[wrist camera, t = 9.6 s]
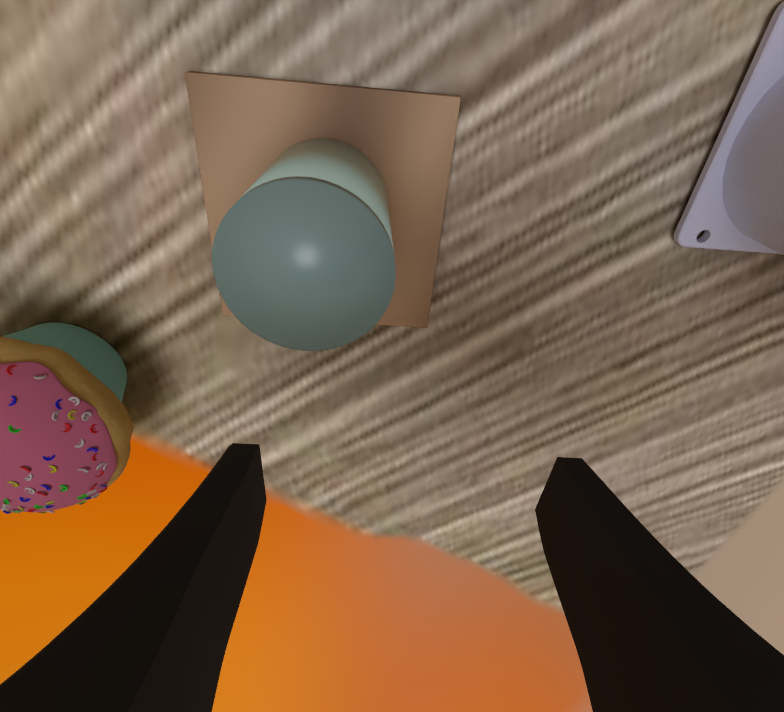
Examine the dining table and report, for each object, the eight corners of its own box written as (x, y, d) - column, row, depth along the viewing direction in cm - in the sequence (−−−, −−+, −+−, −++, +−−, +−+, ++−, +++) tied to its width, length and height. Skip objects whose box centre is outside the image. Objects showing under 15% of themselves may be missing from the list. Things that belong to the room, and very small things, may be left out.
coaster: (458, 95, 15) (460, 97, 15) (425, 321, 20) (427, 327, 20) (191, 71, 15) (184, 72, 14) (226, 308, 20) (223, 315, 19)
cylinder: (388, 139, 16) (398, 182, 10) (386, 263, 18) (393, 350, 13) (255, 136, 15) (193, 178, 10) (272, 262, 18) (229, 351, 12)
